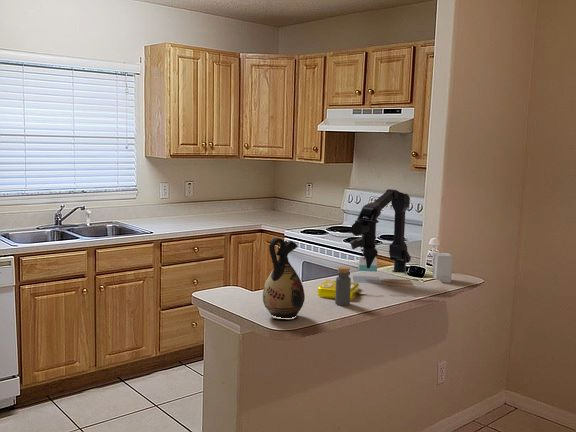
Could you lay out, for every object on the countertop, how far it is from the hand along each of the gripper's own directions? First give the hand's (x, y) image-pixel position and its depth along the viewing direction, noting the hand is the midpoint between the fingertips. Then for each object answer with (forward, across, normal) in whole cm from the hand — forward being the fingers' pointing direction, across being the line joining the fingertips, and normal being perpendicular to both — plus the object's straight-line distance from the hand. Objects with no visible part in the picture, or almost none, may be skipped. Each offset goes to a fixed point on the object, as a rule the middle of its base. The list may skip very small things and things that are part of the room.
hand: (367, 266), depth 270 cm
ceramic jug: (+8, +55, -37) cm, 67 cm away
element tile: (+8, +21, -14) cm, 27 cm away
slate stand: (+7, 0, 0) cm, 7 cm away
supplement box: (+8, -9, +36) cm, 38 cm away
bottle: (+8, +35, -13) cm, 38 cm away
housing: (+2, 0, 0) cm, 2 cm away
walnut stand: (+8, +4, +14) cm, 16 cm away
